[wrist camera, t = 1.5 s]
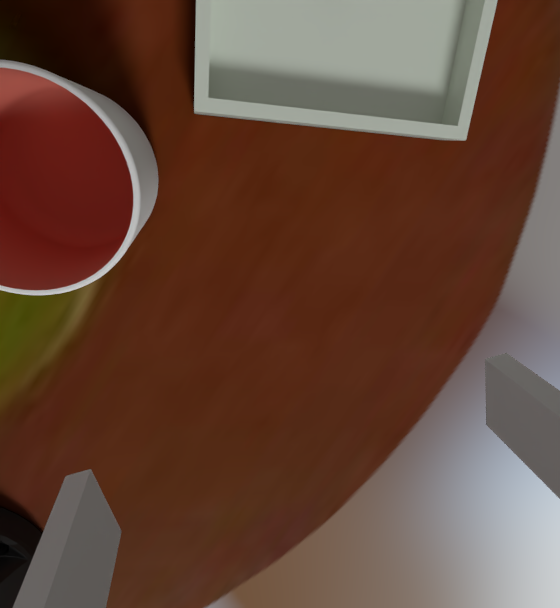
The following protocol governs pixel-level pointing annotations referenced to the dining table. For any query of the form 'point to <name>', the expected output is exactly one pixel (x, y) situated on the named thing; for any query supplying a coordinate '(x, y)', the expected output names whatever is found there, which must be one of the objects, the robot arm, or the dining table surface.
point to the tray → (343, 63)
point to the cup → (66, 182)
